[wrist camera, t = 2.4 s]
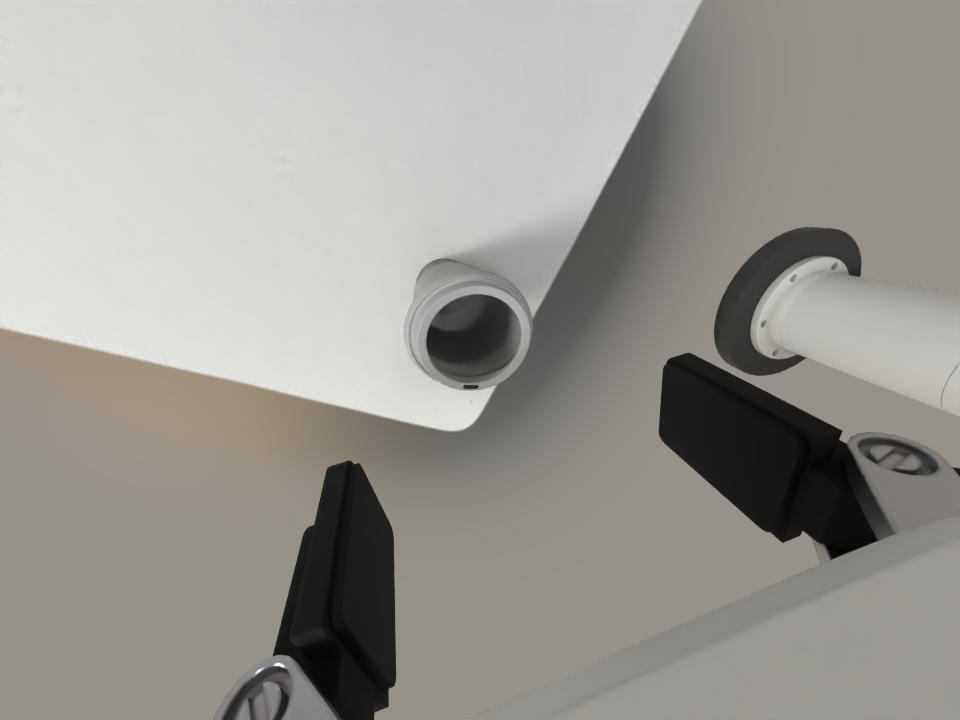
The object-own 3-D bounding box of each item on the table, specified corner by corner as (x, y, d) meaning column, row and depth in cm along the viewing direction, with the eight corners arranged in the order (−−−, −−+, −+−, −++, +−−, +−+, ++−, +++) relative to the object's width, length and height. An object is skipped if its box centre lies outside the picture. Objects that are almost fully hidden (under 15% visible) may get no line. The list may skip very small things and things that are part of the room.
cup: (399, 324, 28) (403, 399, 18) (400, 241, 26) (406, 270, 15) (481, 327, 30) (529, 396, 20) (490, 249, 27) (552, 280, 17)
